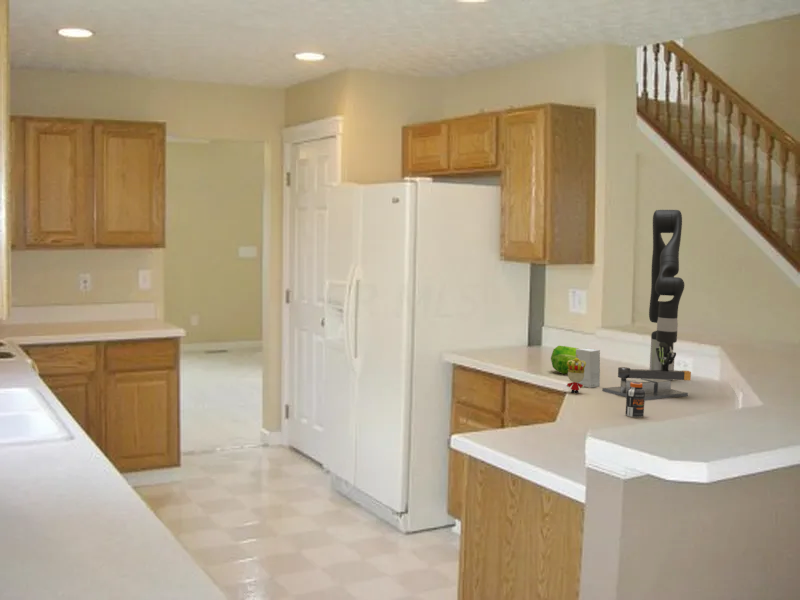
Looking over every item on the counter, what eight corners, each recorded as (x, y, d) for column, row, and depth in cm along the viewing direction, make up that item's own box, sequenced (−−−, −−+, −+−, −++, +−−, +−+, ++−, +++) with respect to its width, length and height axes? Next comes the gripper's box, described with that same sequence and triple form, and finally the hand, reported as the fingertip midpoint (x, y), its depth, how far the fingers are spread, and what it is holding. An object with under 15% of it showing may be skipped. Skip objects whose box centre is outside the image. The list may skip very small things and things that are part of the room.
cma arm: (687, 378, 337) (687, 369, 337) (691, 380, 333) (691, 371, 332) (616, 376, 337) (617, 367, 337) (619, 378, 333) (619, 368, 332)
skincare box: (599, 387, 352) (601, 350, 351) (589, 388, 349) (590, 350, 348) (584, 383, 359) (586, 347, 358) (573, 384, 356) (575, 348, 355)
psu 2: (653, 386, 350) (653, 376, 349) (670, 390, 342) (671, 380, 341) (640, 388, 346) (640, 377, 346) (657, 392, 338) (658, 381, 338)
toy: (585, 392, 340) (587, 353, 339) (583, 395, 333) (585, 355, 332) (567, 390, 342) (568, 352, 341) (564, 393, 336) (566, 354, 334)
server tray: (648, 386, 356) (649, 370, 356) (687, 396, 339) (688, 378, 338) (602, 391, 344) (603, 374, 343) (640, 400, 326) (641, 382, 326)
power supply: (636, 388, 345) (637, 377, 345) (653, 392, 337) (654, 381, 337) (623, 389, 341) (623, 379, 341) (640, 393, 334) (641, 383, 333)
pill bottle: (632, 418, 295) (634, 384, 294) (621, 414, 300) (623, 381, 299) (647, 417, 297) (649, 383, 296) (636, 413, 303) (637, 380, 302)
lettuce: (598, 377, 375) (599, 349, 374) (550, 375, 378) (551, 347, 377) (596, 372, 388) (597, 345, 387) (549, 370, 391) (550, 343, 390)
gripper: (684, 331, 330) (681, 377, 332) (668, 327, 343) (666, 371, 345) (665, 331, 329) (662, 377, 331) (650, 327, 342) (647, 371, 344)
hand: (664, 374), depth 338 cm, fingers closed
